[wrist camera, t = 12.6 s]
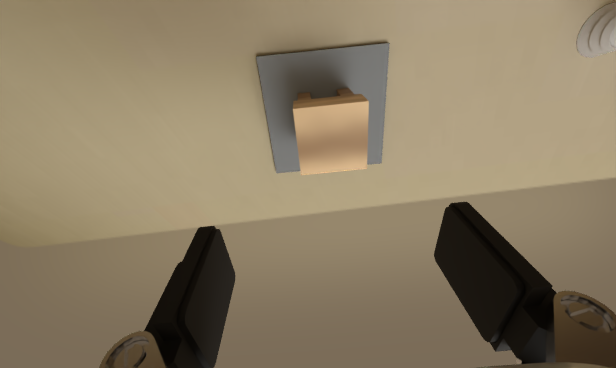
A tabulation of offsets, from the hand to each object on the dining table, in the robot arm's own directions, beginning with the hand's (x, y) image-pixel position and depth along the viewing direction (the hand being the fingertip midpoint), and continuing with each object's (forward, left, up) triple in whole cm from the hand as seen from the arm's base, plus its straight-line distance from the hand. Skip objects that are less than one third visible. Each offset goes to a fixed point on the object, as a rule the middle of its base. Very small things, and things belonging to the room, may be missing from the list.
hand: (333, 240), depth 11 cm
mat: (+2, -1, -23) cm, 23 cm away
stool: (+2, -1, -22) cm, 22 cm away
